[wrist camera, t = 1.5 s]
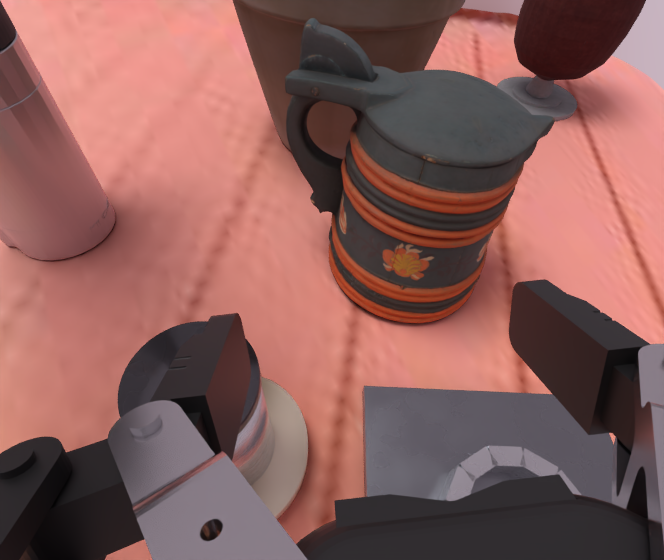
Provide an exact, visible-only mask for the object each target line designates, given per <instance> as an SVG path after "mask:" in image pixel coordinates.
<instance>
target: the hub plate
mask: <svg viewBox="0 0 664 560" xmlns="http://www.w3.org/2000/svg"><path fill="white" fill-rule="evenodd" d="M362 396H363V442H364V488H365V497H370V496H378V495H387V494H393V495H401V496H410V497H418V498H426V499H434V500H443V501H455V500H458V499H460V498H463V497H465V496H468V495H470V494H473V493H475V492H478V491H480V490H483V489H485V488H488V487H490V486H492V485H495V484H497V483H500V482H502V481H506V480H514V479H523V478H531V477H540V476H548V475H557V474H559V475H560V476H561V478H562V479H563V480H564V482H565V483H566V485H567V486H568V488H569V489H570V490H571V492H572V493H573V494H577V495H583V496H587V497H592V498H596V499H599V500H602V501H606V502H609V503H612V464H613V446H614V445H613V442H612V440H611V437H610V435H609V433H604V434H595V435H588V434H587V433H586V432H585V430H584V429H583V428H582V427H581V426H580V425H579V424H578V422H577V421H576V420H575V419H574V418H573V417H572V416H571V414H570V413H569V412H568V411H567V410H566V409H565V407H564V406H563V405H562V404H561V403H560V402H559V401H558V399H557V398H556V397H555V396H554V395H553V394H531V393H509V392H487V391H464V390H442V389H420V388H397V387H375V386H364V388H363V391H362Z"/></svg>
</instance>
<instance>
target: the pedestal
mask: <svg viewBox="0 0 664 560" xmlns="http://www.w3.org/2000/svg"><path fill="white" fill-rule="evenodd" d="M261 382H262V389H263V393H264V397H265V401H266V404H267V408H268V412H269V416H270V420H271V424H272V428H273V432H274V438H275V447H274V453H273V457H272V460H271V462H270V464H269V466H268V468H267V470H266V471H265V473H264V474H263V475H262V476H261V478H260V479H259V480H258V481H256V482H255V483H254V484H253V485H251V487H252V488H253V489H254V491H255V492H256V493H257V495H258V496H259V497H260V498H261V500H262V501H263V502H264V504H265V505H266V506H267V508H268V509H269V510H270V511H271V513H272V514H273V515H274V517H275V518H276V519H278V518H279V517H280V516H281V515H282V514H283V513H284V512H285V511H286V510H287V509H288V507H289V506H290V505H291V503H292V502H293V500H294V499H295V497H296V495H297V493H298V492H299V490H300V488H301V485H302V482H303V480H304V477H305V473H306V468H307V461H308V436H307V428H306V424H305V420H304V418H303V415H302V413H301V410H300V409H299V407H298V405H297V403H296V402H295V400H294V399H293V398H292V397H291V395H290V394H289V393H288V392H287V391H286V390H285V389H283V388H282V387H281V386H279V385H278V384H276V383H274V382H273V381H271V380H269V379H266V378H263V377H261Z"/></svg>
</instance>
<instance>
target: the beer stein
mask: <svg viewBox="0 0 664 560" xmlns="http://www.w3.org/2000/svg"><path fill="white" fill-rule="evenodd" d="M285 90H286V93H287V94H289V95H292V98H291V100H290V103H289V106H288V109H287V117H286V132H287V139H288V143H289V146H290V149H291V152H292V154H293V156H294V158H295V160H296V162H297V164H298V166H299V168H300V170H301V172H302V173H303V175H304V176H305V178H306V180H307V181H308V183H309V184H310V186H311V187H312V189H313V191H314V192H313V194H312V195H311V198H310V199H311V201H312V203H313V204H314V205H315V206H316V207H317V208H318V209H319V212H320V213H321V212H325V211H329V212H332V226H331V228H330V232H329V240H330V244H329V263H330V267H331V270H332V273H333V275H334V277H335V279H336V281H337V283H338V285H339V286H340V288H341V289H342V290H343V291H344V293H345V294H346V295H347V296H348V297H349V298H350V299H352V300H353V301H354V302H356V303H357V304H358V305H360V306H361V307H363V308H364V309H366V310H368V311H369V312H371V313H373V314H375V315H378V316H380V317H383V318H386V319H389V320H393V321H398V322H405V323H425V322H432V321H436V320H439V319H442V318H444V317H446V316H448V315H450V314H451V313H453V312H455V311H456V310H457V309H459V308H460V307H461V306H462V305H463V304H464V303H465V302H466V301H467V299H468V298H469V296H470V295H471V293H472V291H473V289H474V286H475V283H476V282H477V280H478V279H479V276H480V273H481V270H482V268H483V265H484V262H485V258H486V252H487V245H488V243H489V240H490V238H491V235H492V233H493V230H494V229H495V228H496V227H497V226H498V225H499V223H500V222H501V221H502V219H503V217H504V214H505V212H506V210H507V207H508V204H509V201H510V198H511V197H512V195H513V192H514V190H515V185H516V184H517V181H518V178H519V176H520V175H521V172H522V170H523V166H524V162H525V161H526V160H527V159H528V158H529V157H530V156H531V155H532V153H533V151H534V149H535V147H536V144H537V141H538V140H539V139H540V138H541V137H543V136H545V135H547V134H548V132H549V131H550V129H551V128H552V126H553V124H554V121H555V119H554V117H552V116H548V115H532V114H531V113H530V112H529V111H528V110H527V109H526V108H525V107H524V106H523V105H521V104H520V103H519V102H518V101H517V100H515V99H514V98H513V97H511V96H510V95H509V94H507V93H506V92H504V91H503V90H501V89H499V88H498V87H496V86H494V85H492V84H491V83H489V82H486V81H484V80H482V79H480V78H477V77H474V76H471V75H467V74H464V73H460V72H456V71H448V70H422V71H413V72H405V73H398V72H396V71H393V70H391V69H389V68H386V67H382V66H372V65H371V62H370V60H369V58H368V56H367V55H366V53H365V52H364V51H363V49H362V48H361V47H360V46H359V45H358V44H357V43H356V42H355V41H354V40H353V39H352V38H351V37H349V36H348V35H347V34H345V33H344V32H342V31H340V30H338V29H335V28H333V27H330V26H326V25H322V24H320V23H319V22H318V21H317V20H316V19H315V18H311V19H309V20H308V21H307V22H306V24H305V26H304V29H303V33H302V39H301V47H300V64H299V69H298V70H293V71H292V72H290V73H289V74H288V75H287V76H286V77H285ZM320 101H328V102H333V103H337V104H340V105H344V106H348V107H350V108H351V109H352V110H353V111H354V113H355V115H356V117H357V120H356V121H355V122H354V124H353V125H352V127H351V130H350V140H349V141H348V143H347V146H346V155H345V157H344V159H340V158H337V157H334V156H332V155H330V154H328V153H326V152H324V151H323V150H321V149H320V148H319V147H318V146H317V145H316V144H315V143H314V142H313V140H312V139H311V137H310V135H309V133H308V129H307V117H308V113H309V111H310V109H311V108H312V106H313V105H314V104H316V103H318V102H320Z"/></svg>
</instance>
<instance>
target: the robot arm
mask: <svg viewBox="0 0 664 560" xmlns="http://www.w3.org/2000/svg"><path fill="white" fill-rule="evenodd" d="M114 223H115V212H114V209H113V207H112V205H111V204H110V202H109V200H108V198H107V196H106V194H105V193H104V191H103V189H102V187H101V185H100V183H99V182H98V179H97V178H96V176H95V174H94V172H93V170H92V168H91V167H90V165H89V163H88V161H87V159H86V157H85V155H84V154H83V152H82V150H81V148H80V146H79V144H78V143H77V141H76V139H75V137H74V135H73V133H72V132H71V130H70V128H69V126H68V124H67V122H66V121H65V119H64V117H63V115H62V113H61V111H60V110H59V108H58V106H57V104H56V102H55V100H54V99H53V97H52V95H51V93H50V91H49V89H48V88H47V86H46V84H45V82H44V80H43V78H42V77H41V75H40V73H39V71H38V70H37V68H36V66H35V64H34V62H33V60H32V58H31V57H30V55H29V53H28V51H27V49H26V47H25V46H24V44H23V42H22V40H21V38H20V36H19V35H18V33H17V31H16V29H15V27H14V25H13V23H12V21H11V20H10V18H9V16H8V14H7V12H6V11H5V9H4V7H3V5H2V3H1V1H0V239H1V240H2V241H3V242H4V243H5V244H6V245H7V246H14V247H17V248H18V249H20V250H21V251H22V252H23V253H24V254H25V255H27V256H29V257H31V258H35V259H39V260H60V259H65V258H69V257H73V256H76V255H79V254H81V253H84V252H86V251H88V250H90V249H92V248H93V247H95V246H96V245H98V244H99V243H100V242H102V241H103V240H104V239H105V238H106V237H107V236H108V234H109V233H110V232H111V230H112V229H113V226H114ZM509 337H510V341H511V344H512V347H513V348H514V350H515V351H516V353H517V354H518V355H519V356H520V357H521V358H522V359H523V361H524V362H525V363H526V364H527V365H528V366H529V367H530V369H531V370H532V371H533V372H534V373H535V374H536V375H537V377H538V378H539V379H540V380H541V381H542V382H543V383H544V385H545V386H546V387H547V388H548V389H549V390H550V391H551V393H552V394H553V395H554V396H555V397H556V398H557V399H558V401H559V402H560V403H561V404H562V405H563V406H564V407H565V409H566V410H567V411H568V412H569V413H570V414H571V416H572V417H573V418H574V419H575V420H576V421H577V422H578V424H579V425H580V426H581V427H582V428H583V429H584V430H585V432H586V433H587V434H588V435H595V434H604V433H613V434H614V435H615V436H616V438H615V442H614V446H613V464H612V503H609V502H606V501H602V500H599V499H596V498H592V497H587V496H583V495H577V494H573V493H572V492H571V490H570V489H569V488H568V486H567V485H566V483H565V482H564V480H563V479H562V478H561V476H560V475H559V474H557V475H548V476H540V477H531V478H523V479H514V480H506V481H502V482H500V483H497V484H495V485H492V486H490V487H488V488H485V489H483V490H480V491H478V492H475V493H473V494H470V495H468V496H465V497H463V498H460V499H458V500H455V501H443V500H434V499H426V498H418V497H410V496H401V495H393V494H387V495H378V496H370V497H361V498H353V499H344V500H336V501H335V514H336V520H335V521H332V522H330V523H327V524H325V525H323V526H321V527H320V528H318V529H316V530H314V531H313V532H311V533H310V534H309V535H307V536H306V537H304V538H303V539H302V540H300V541H299V542H298V543H297V544H295V543H294V541H293V540H292V539H291V537H290V536H289V535H288V534H287V532H286V531H285V530H284V528H283V527H282V526H281V524H280V523H279V522H278V521H277V519H276V518H275V517H274V515H273V514H272V513H271V511H270V510H269V509H268V508H267V506H266V505H265V504H264V502H263V501H262V500H261V498H260V497H259V496H258V495H257V493H256V492H255V491H254V489H253V488H252V487H251V486H250V484H249V483H248V482H247V480H246V479H245V478H244V476H243V475H242V474H241V473H240V471H239V470H238V469H237V467H236V466H235V465H234V463H233V462H232V459H233V455H234V450H235V446H236V441H237V437H238V432H239V428H240V424H241V419H242V415H243V410H244V406H245V401H246V397H247V392H248V388H249V383H250V378H251V365H250V358H249V353H248V349H247V344H246V340H245V335H244V331H243V326H242V322H241V318H240V316H239V314H238V313H235V314H226V315H217V316H211V317H210V319H209V321H208V323H207V325H206V327H205V329H204V331H203V333H202V334H198V335H193V336H192V337H191V338H190V339H189V340H187V341H186V342H185V343H184V344H183V345H182V346H181V347H180V349H179V350H178V352H177V354H176V356H175V357H174V360H173V361H172V363H171V365H170V366H169V370H168V371H167V372H166V374H165V375H164V377H163V379H162V381H161V383H160V384H159V386H158V388H157V390H156V392H155V393H154V395H153V397H152V399H151V400H150V402H149V403H146V404H143V405H141V406H139V407H136V408H135V409H133V410H131V411H129V412H128V413H126V414H125V415H124V416H122V417H121V418H120V419H119V420H118V421H117V422H116V423H115V424H114V426H113V427H112V428H111V430H110V432H109V435H108V439H105V440H102V441H100V442H97V443H94V444H91V445H88V446H85V447H82V448H79V449H76V450H73V451H70V452H67V453H66V452H65V450H64V448H63V446H62V444H61V442H60V441H59V440H58V439H56V438H53V437H39V438H34V439H30V440H27V441H24V442H22V443H19V444H17V445H15V446H13V447H11V448H9V449H7V450H6V451H4V452H2V453H1V454H0V560H105V558H106V555H108V554H110V553H113V552H115V551H117V550H120V549H122V548H124V547H127V546H129V545H131V544H134V543H136V542H139V541H141V540H143V539H145V541H146V544H147V546H148V549H149V551H150V554H151V556H152V559H153V560H664V344H649V343H648V342H646V341H645V340H643V339H642V338H640V337H639V336H637V335H636V334H634V333H633V332H631V331H630V330H628V329H627V328H625V327H624V326H622V325H621V324H619V323H618V322H616V321H612V318H610V317H609V316H607V315H606V314H604V313H600V310H598V309H597V308H595V307H594V306H592V305H591V304H589V303H588V302H587V301H584V300H582V299H579V298H576V297H574V296H571V295H569V294H566V293H565V292H563V291H562V290H561V289H559V288H558V287H556V286H555V285H553V284H552V283H550V282H549V281H547V280H535V281H526V282H518V283H516V284H515V286H514V289H513V295H512V305H511V315H510V324H509Z"/></svg>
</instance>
